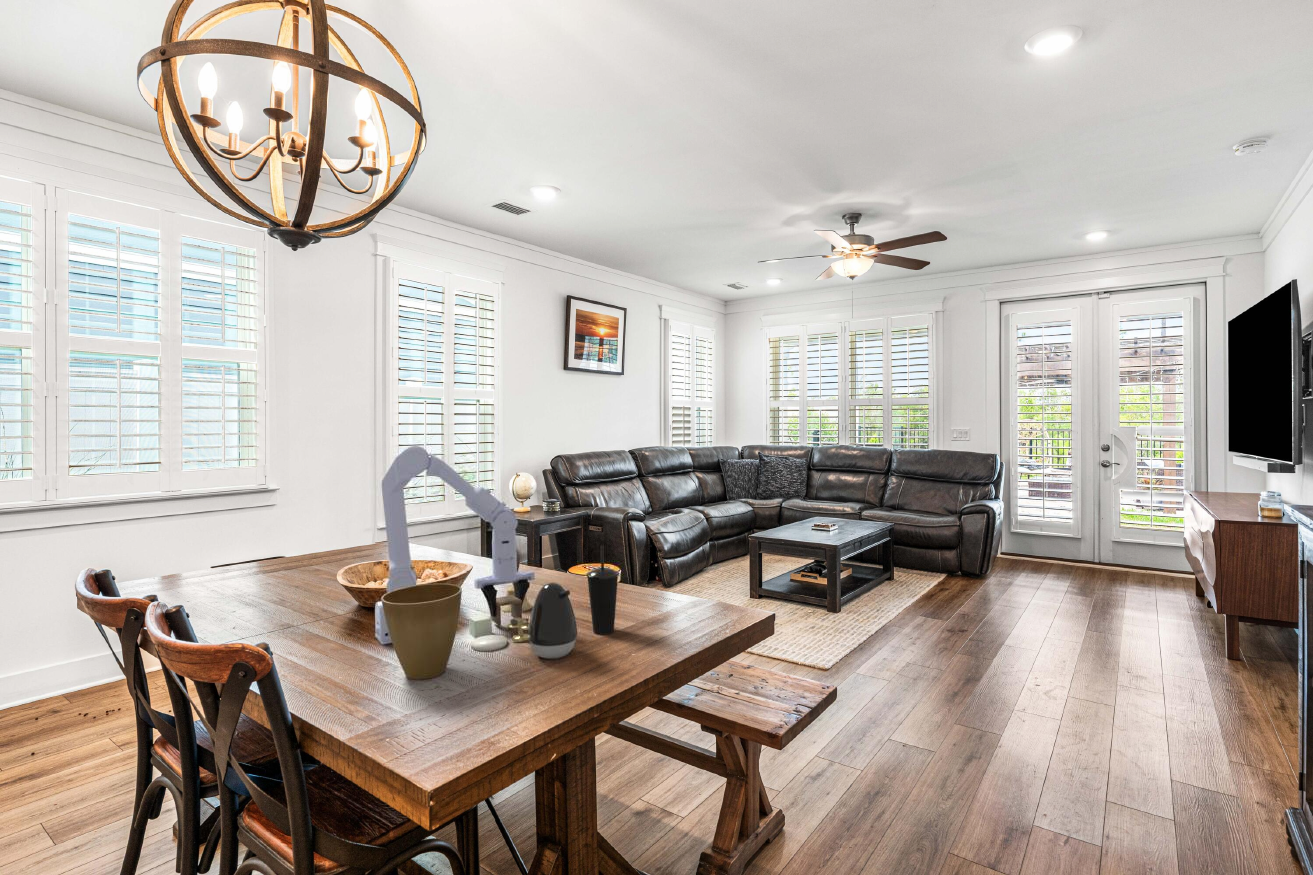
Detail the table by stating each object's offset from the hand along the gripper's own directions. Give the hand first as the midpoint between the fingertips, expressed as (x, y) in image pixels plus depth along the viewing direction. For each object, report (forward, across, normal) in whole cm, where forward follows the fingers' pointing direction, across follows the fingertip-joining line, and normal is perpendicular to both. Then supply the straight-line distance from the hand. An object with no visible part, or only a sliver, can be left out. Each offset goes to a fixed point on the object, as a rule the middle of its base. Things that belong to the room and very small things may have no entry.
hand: (505, 613), depth 159 cm
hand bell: (+3, +8, +12) cm, 14 cm away
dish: (+3, -8, -12) cm, 15 cm away
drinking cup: (+3, +16, -19) cm, 25 cm away
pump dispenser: (+3, 0, -26) cm, 26 cm away
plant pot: (+3, -24, -20) cm, 32 cm away
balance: (+3, -2, -13) cm, 13 cm away
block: (+3, -8, -4) cm, 9 cm away
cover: (+2, 0, 0) cm, 2 cm away
